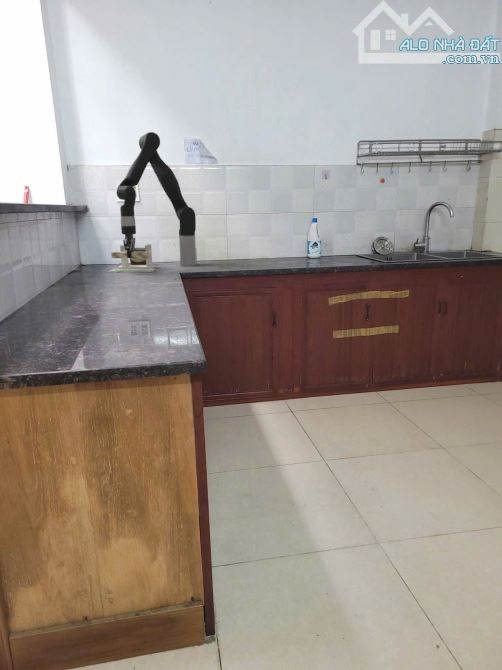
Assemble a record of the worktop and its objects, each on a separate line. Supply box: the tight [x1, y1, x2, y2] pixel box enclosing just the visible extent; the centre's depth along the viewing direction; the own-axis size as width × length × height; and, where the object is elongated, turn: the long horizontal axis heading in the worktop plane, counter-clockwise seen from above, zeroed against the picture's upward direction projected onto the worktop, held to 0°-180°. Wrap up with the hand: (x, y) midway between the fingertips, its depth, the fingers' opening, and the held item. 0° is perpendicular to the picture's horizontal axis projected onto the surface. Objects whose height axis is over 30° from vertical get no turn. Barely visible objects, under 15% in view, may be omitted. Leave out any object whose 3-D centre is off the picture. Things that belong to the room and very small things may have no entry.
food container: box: [129, 247, 146, 265], centre depth 278 cm, size 12×6×10 cm, turn 84°
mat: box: [107, 268, 156, 273], centre depth 259 cm, size 24×8×1 cm, turn 87°
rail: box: [110, 251, 149, 259], centre depth 257 cm, size 20×3×3 cm, turn 86°
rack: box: [117, 243, 157, 269], centre depth 266 cm, size 20×7×13 cm, turn 87°
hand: (130, 257), depth 257 cm, fingers closed on rail, 3 cm apart
